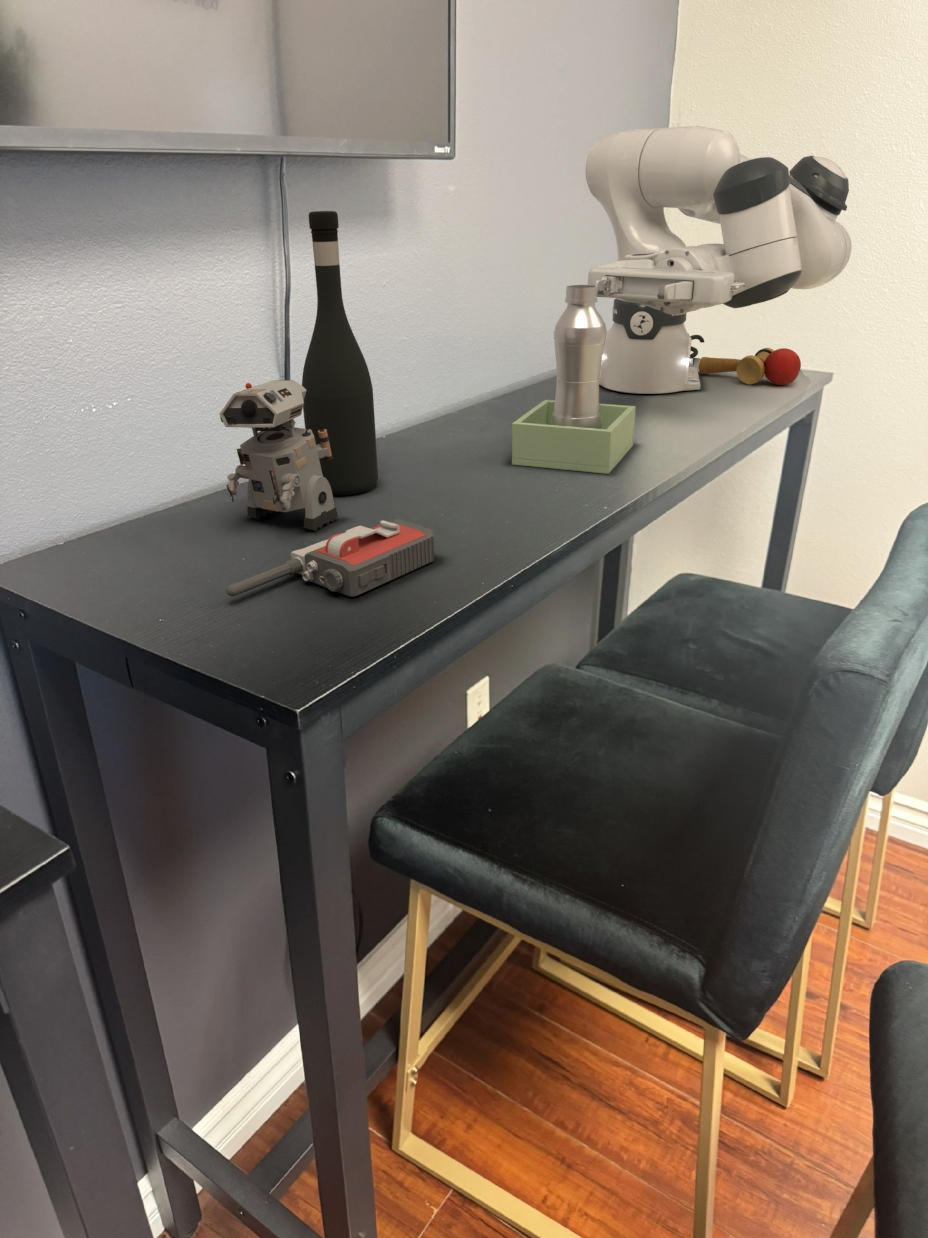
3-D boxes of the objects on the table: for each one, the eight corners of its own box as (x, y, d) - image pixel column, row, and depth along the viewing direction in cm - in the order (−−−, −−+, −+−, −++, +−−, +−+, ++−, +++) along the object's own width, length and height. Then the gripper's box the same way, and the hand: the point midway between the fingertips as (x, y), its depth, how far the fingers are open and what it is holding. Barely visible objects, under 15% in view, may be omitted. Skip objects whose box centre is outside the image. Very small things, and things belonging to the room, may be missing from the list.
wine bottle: (331, 474, 111) (308, 209, 98) (389, 480, 109) (373, 209, 96) (298, 494, 105) (269, 212, 91) (360, 501, 102) (338, 212, 89)
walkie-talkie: (383, 537, 92) (222, 603, 78) (381, 496, 90) (214, 556, 76) (448, 557, 87) (287, 631, 73) (447, 514, 85) (281, 582, 71)
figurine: (211, 537, 93) (188, 391, 86) (282, 504, 102) (266, 369, 95) (280, 552, 89) (262, 400, 82) (347, 516, 98) (336, 376, 91)
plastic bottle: (541, 445, 119) (544, 285, 110) (587, 439, 121) (594, 282, 112) (561, 457, 113) (567, 290, 105) (609, 452, 115) (618, 287, 106)
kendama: (689, 385, 160) (787, 384, 148) (691, 348, 158) (790, 344, 146) (711, 386, 165) (806, 385, 153) (713, 350, 164) (810, 346, 152)
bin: (543, 437, 125) (544, 399, 123) (633, 445, 121) (635, 406, 119) (511, 464, 114) (511, 423, 112) (608, 474, 110) (611, 431, 107)
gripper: (747, 309, 122) (700, 321, 113) (617, 299, 134) (565, 309, 124) (753, 259, 119) (706, 268, 110) (619, 253, 131) (566, 260, 122)
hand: (630, 290), depth 117 cm, fingers open, 8 cm apart
